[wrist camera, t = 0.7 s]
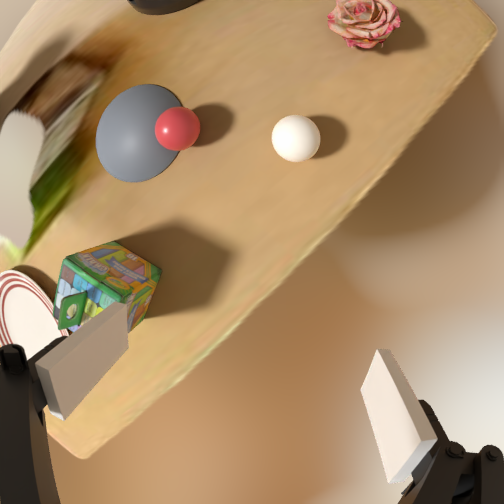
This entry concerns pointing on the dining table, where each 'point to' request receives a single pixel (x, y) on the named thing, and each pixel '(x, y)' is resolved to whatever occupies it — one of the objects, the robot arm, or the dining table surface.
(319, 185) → the dining table surface
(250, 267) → the dining table surface
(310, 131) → the cue ball
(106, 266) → the chalk box
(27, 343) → the dinner plate
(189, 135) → the red ball
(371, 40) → the flower
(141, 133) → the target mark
